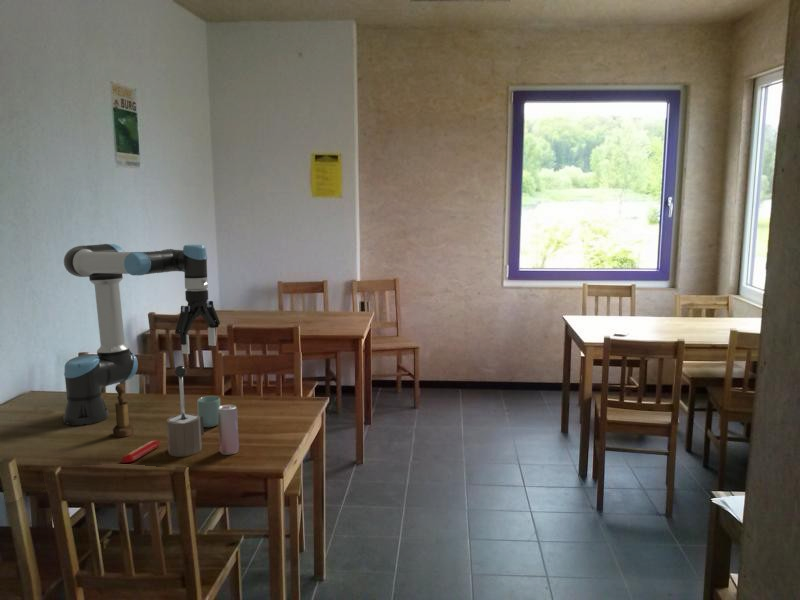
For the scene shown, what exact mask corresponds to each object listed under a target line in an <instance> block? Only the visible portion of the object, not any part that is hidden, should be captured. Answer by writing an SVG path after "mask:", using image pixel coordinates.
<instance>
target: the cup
mask: <svg viewBox="0 0 800 600" xmlns="http://www.w3.org/2000/svg"><path fill="white" fill-rule="evenodd" d="M196 403H197V404H196V405H197V406H196V407H197V415H199V416H203V428H213V427H216V426H218V408H219V407H220V406H221V398H220V397H219V396H216V395H207V396H202V397H199V398H197V402H196Z"/></svg>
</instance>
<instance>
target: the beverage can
mask: <svg viewBox="0 0 800 600" xmlns="http://www.w3.org/2000/svg"><path fill="white" fill-rule="evenodd" d="M238 419H239V418H238V408H237V405H235V404H223V405H220V407H219V408H218V424H217V426H218V440H219V452H220V453H221V454H222V455H225V456H230V455H234V454H236V453H238V451H239V449H240V445H239V444H240V443H239V423H238V421H239V420H238Z"/></svg>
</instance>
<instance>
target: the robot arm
mask: <svg viewBox="0 0 800 600" xmlns="http://www.w3.org/2000/svg"><path fill="white" fill-rule="evenodd" d="M206 249H207V248H206V246H205V245H203V244H184V245H183V247H182V249H173V248H170V249H169V248H168V249H166V248H165V249H162V250H154V251H153V250H152V251H124V249H123V248H122V247H121V246H120V245H117V244H114V243H113V244H112V243H101V244H89V245H79V246H78V245H77V246H73V247H72V248H70V249H69V250H68V251H67V252H66V253H65V255H64V258H63V265H64V268H65V269H66V271H67V272H68V273H69V274H71V275H73V276H75V277H78V278H79V277H80V278H87V277H89V282H90V283H91V284H93V285H94V292H95V295H94V296H95V301H96V303H95V304H96V313H97V314H96V315H97V324H98V330H99V331H98V333H99V341H100V345H99V346H100V347H99V348H98V349H97V350H96V354H85V355H78V356H75V357H73V358H70V359H69V360H67V361H66V362H65V365H64V373H63V375H64V378H65V379H64V380H65V391H66V393H65V394H66V404H65V408H64V412H63V416H62V417H63V418H62V419H63V423H64V422H65V423H68V424H74V425H73V426H83V424H86V425H91V424H95V423H99V422H101V421H104V420H106V419H107V418H108V417H109V410H108V408H107V406H106V403H105V401H104V398H103V396H102V388H105V387H108V386H111V385H115V384H116V385H117V384H122V383H124V382H126V381H128V380H131V379H132V378H134V376H135V375H136V374H137V371H138V369H139V368H138V365H139V362H138V358H137V356H136V354H135V352H134V351H132V350H130V346H129V345H127V344H126V343H125V330H124V323H123V322H124V321H123V313H122V303H121V302H122V301H121V292H120V291H121V290H120V283H121V281H122V280H123V279H124V278H123V275H131V276H144V275H151V274H159V273H169V272H184V289H185V291H184V292H185V296H184V297H185V301H186V302H187V305H181V306H180V314H179V316H178V321H177V323H176V327H175V330H174V334H175V335H178V336H179V337H180V338H179V341H180V342H179V343H180V345H181V354H185V355H190V338H189V337H190V334H188V333H189V331H190V329H191V326H192V324H193V322H194V320H195V319H196V318H197V317H198V318H199V317H200V316H201V317H202V318H203V319H204V321H205V322H206V324H207V325H208V327H207V337H208V338H207V339H208V346H209V347H210V346H212V347H215V346H217V341H216V339H217V338H216V336H217V328H219V325H220V324H221V321H220V320H219V319H220V318H219V316H218V314H217V311H216V310H215V305H214V301H213V300H209V290H208V263H207V262H208V261H207V260H208V256H207V250H206ZM65 423H64V424H65ZM68 424H67V425H68Z"/></svg>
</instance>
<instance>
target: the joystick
mask: <svg viewBox="0 0 800 600" xmlns="http://www.w3.org/2000/svg"><path fill="white" fill-rule="evenodd" d="M174 374H175V376H177V377H178V384H179V399H180V400H179V401H180V405H179V406H180V414H181V420H185V414H186V409H185V392H184V376H186V374H187V368H186V367H185V366H184V365H178V366H176V367H175V369H174Z"/></svg>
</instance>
